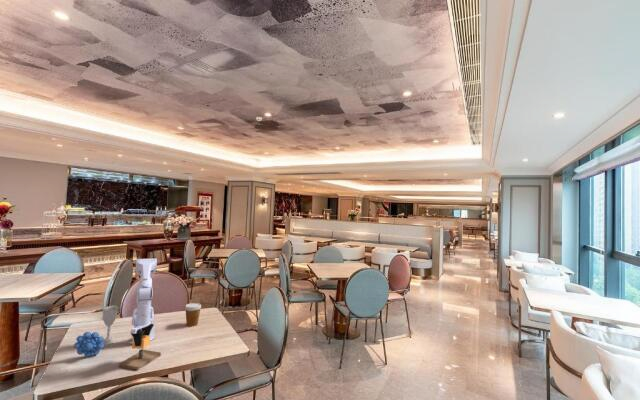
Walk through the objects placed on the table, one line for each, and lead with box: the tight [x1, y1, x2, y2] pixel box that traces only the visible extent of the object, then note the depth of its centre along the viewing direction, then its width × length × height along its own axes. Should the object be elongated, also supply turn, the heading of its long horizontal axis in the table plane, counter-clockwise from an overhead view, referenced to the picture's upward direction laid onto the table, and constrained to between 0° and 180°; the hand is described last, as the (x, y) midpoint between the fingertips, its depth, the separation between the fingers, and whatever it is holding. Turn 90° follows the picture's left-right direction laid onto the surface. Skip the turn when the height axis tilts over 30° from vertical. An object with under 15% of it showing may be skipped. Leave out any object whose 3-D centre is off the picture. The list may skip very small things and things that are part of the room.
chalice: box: [101, 305, 119, 346], centre depth 156 cm, size 7×7×18 cm
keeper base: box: [118, 349, 162, 371], centre depth 140 cm, size 14×10×5 cm
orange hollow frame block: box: [131, 335, 151, 350], centre depth 140 cm, size 5×5×4 cm
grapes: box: [73, 331, 105, 358], centre depth 141 cm, size 12×7×12 cm, turn 126°
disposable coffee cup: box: [184, 302, 202, 327], centre depth 184 cm, size 10×10×12 cm
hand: (141, 343), depth 140 cm, fingers closed on orange hollow frame block, 5 cm apart
